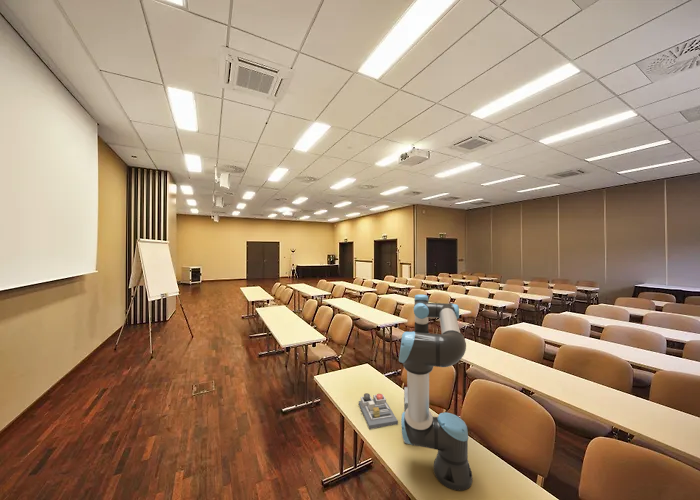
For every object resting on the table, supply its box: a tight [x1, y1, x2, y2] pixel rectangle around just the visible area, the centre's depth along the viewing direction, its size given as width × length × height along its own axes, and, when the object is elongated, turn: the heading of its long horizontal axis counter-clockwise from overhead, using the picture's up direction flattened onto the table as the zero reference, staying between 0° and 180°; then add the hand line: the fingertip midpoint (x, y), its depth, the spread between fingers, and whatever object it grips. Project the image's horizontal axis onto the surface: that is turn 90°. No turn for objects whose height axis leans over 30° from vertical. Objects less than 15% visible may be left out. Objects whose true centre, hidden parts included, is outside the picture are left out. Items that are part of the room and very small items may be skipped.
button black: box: [363, 393, 371, 402], centre depth 156 cm, size 4×4×3 cm
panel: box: [358, 393, 399, 430], centre depth 151 cm, size 22×16×5 cm
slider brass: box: [373, 407, 380, 418], centre depth 145 cm, size 3×3×4 cm
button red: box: [376, 393, 384, 400], centre depth 158 cm, size 4×4×3 cm
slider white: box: [368, 401, 375, 412], centre depth 151 cm, size 3×3×4 cm
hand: (421, 363), depth 149 cm, fingers closed
